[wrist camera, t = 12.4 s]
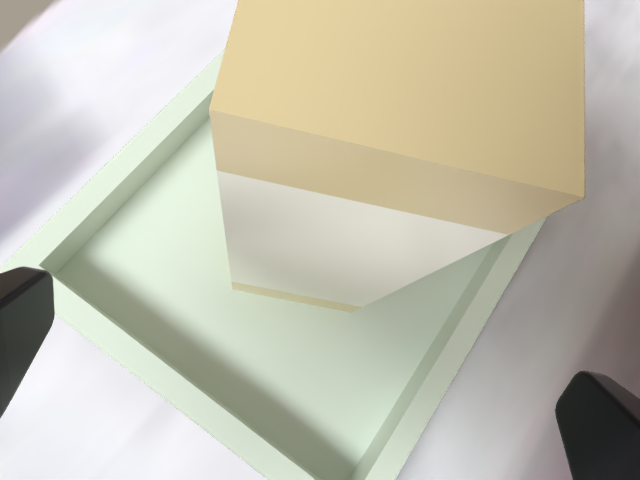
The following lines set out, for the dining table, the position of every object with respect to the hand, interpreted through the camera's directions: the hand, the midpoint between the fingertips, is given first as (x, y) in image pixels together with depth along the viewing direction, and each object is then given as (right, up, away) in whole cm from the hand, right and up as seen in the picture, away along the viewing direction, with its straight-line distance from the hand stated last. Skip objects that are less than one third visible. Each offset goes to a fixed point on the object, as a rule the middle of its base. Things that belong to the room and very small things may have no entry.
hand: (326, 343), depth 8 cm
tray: (-1, +1, +10) cm, 10 cm away
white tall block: (-1, +2, +9) cm, 10 cm away
